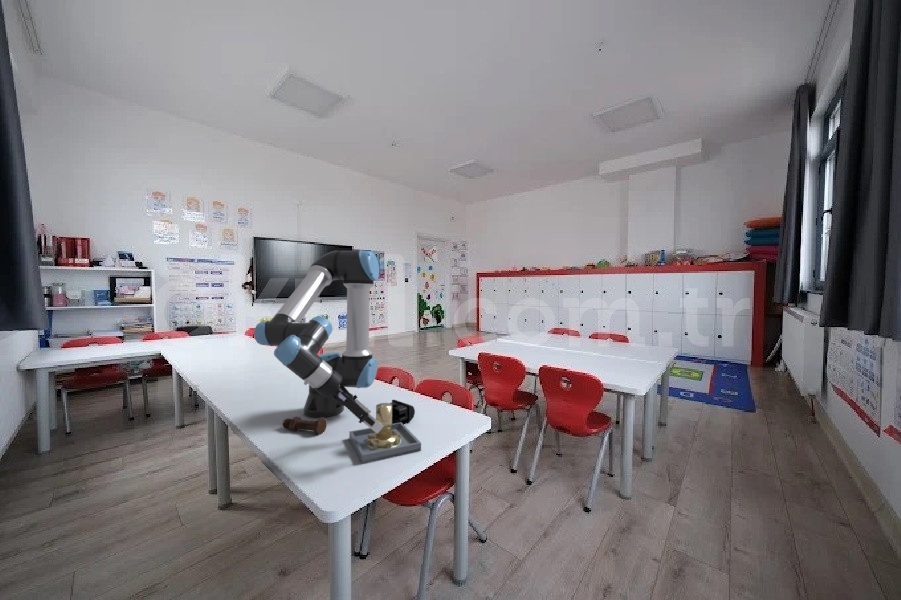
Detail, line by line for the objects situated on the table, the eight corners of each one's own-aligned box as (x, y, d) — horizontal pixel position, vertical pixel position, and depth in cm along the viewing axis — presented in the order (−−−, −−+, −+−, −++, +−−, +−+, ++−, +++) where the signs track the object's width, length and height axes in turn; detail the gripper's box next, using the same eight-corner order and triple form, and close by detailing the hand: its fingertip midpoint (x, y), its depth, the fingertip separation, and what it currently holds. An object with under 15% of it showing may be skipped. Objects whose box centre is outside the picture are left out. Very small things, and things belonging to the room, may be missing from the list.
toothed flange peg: (362, 438, 108) (363, 402, 108) (394, 432, 113) (395, 398, 113) (371, 452, 99) (371, 413, 99) (405, 445, 104) (406, 408, 104)
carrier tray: (349, 438, 110) (349, 431, 110) (401, 428, 118) (401, 422, 118) (362, 463, 94) (362, 455, 94) (421, 450, 102) (421, 442, 102)
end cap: (415, 421, 126) (415, 403, 126) (400, 426, 120) (400, 408, 120) (397, 414, 132) (398, 397, 132) (383, 419, 127) (383, 402, 127)
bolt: (286, 432, 118) (323, 436, 114) (277, 430, 114) (315, 434, 110) (292, 415, 121) (328, 418, 117) (283, 413, 117) (320, 416, 113)
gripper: (308, 378, 106) (355, 417, 114) (319, 401, 84) (376, 448, 92) (326, 360, 109) (371, 400, 116) (341, 379, 87) (395, 426, 94)
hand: (373, 421), depth 104 cm, fingers open, 13 cm apart
